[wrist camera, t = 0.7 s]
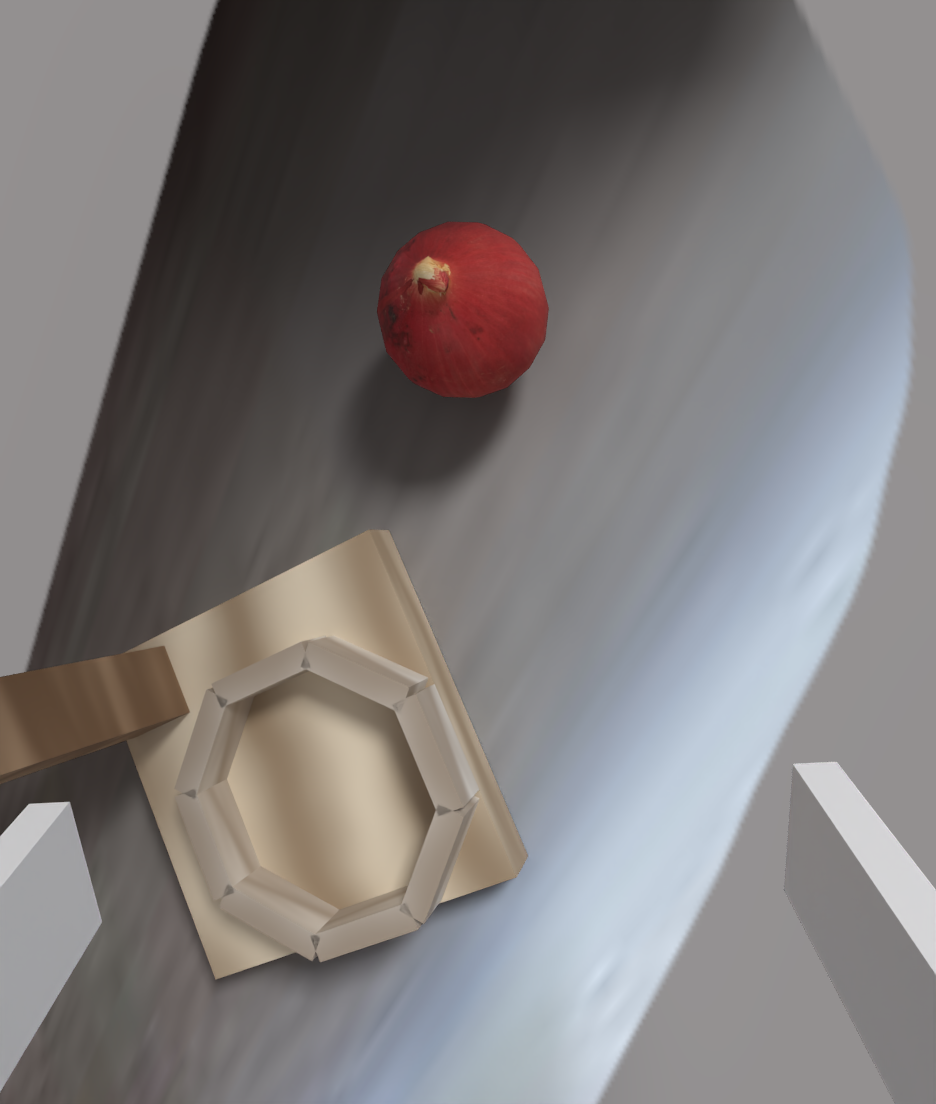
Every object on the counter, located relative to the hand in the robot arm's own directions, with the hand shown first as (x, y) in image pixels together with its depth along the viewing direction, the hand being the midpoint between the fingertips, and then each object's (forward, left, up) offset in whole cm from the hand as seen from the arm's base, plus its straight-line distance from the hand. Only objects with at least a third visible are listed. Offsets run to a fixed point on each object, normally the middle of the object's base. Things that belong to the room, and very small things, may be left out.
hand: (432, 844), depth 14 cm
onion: (-3, -14, -16) cm, 21 cm away
